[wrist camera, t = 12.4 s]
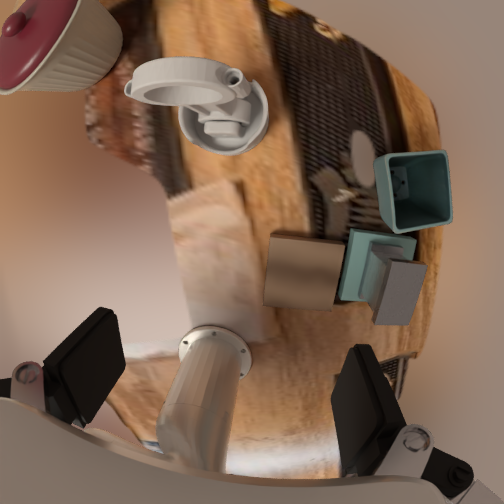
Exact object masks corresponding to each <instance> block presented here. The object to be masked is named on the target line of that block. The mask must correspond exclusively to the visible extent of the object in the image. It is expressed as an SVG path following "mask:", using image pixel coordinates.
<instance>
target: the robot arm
mask: <svg viewBox="0 0 504 504" xmlns="http://www.w3.org/2000/svg"><path fill="white" fill-rule="evenodd" d="M178 354H179V358H180V361H181V365H180V367H179V369H178V372H177V374H176V376H175V378H174V381H173V383H172V385H171V387H170V390H169V392H168V394H167V397H166V399H165V401H164V403H163V406H162V408H161V411H160V413H159V415H158V418H157V421H156V435H157V439H158V442H159V444H160V447H161V449H162V451H163V453H164V454H162V453H158V452H156V451H151V450H149V449H146V448H144V447H141V446H139V445H136V444H134V443H132V442H130V441H127V440H125V439H123V438H121V437H118V436H116V435H114V434H112V433H110V432H107V431H105V430H101V429H97V428H90V429H86V430H84V431H82V430H80V429H77V428H75V427H73V426H71V424H72V423H73V424H75V425H77V426H79V427H81V428H84V427H85V426H86V424H87V423H88V424H89V423H91V421H92V420H93V418H94V417H95V415H96V413H97V411H98V410H99V409H100V407H101V405H102V404H103V402H104V401H105V399H106V398H107V396H108V395H109V393H110V391H111V390H112V388H113V387H114V385H115V384H116V382H117V381H118V379H119V378H120V376H121V375H122V373H123V372H124V370H125V366H126V363H125V358H124V353H123V348H122V343H121V337H120V332H119V327H118V320H117V316H116V314H114V312H113V310H111V309H107V308H104V307H99V308H97V309H96V310H95V311H94V312H93V313H92V314H91V315H90V316H89V317H88V318H87V319H86V320H85V321H83V322H82V323H81V324H80V325H79V326H78V327H77V328H76V329H75V330H74V331H73V332H72V333H71V334H70V335H69V336H68V337H67V338H66V339H65V340H64V341H63V342H62V343H61V344H60V345H59V346H58V347H57V348H56V349H55V350H54V351H53V352H52V353H51V354H50V355H49V356H48V357H47V358H46V359H45V360H44V361H43V363H44V366H43V367H41V366H40V365H39V364H38V363H36V362H23V363H21V364H19V365H18V366H17V367H16V368H15V369H14V371H13V373H12V378H7V379H0V504H504V503H503V501H502V500H501V499H500V498H499V497H498V496H497V495H496V494H495V493H493V492H492V491H491V490H490V489H489V488H488V487H486V486H485V485H484V484H483V483H482V482H481V481H479V480H478V479H477V480H476V481H474V480H473V478H474V474H473V470H472V467H470V465H469V464H468V463H466V462H465V461H462V460H460V459H458V458H455V457H453V456H451V455H449V454H447V453H445V452H443V451H441V450H439V449H437V448H435V447H433V445H434V439H433V435H432V434H431V432H430V431H429V430H428V429H427V428H425V427H423V426H421V425H417V424H411V425H407V424H406V422H405V419H404V417H403V414H402V412H401V410H400V407H399V405H398V402H397V400H396V398H395V395H394V393H393V391H392V388H391V386H390V384H389V381H388V379H387V378H386V377H385V376H384V374H383V371H382V369H381V367H380V365H379V362H378V360H377V358H376V356H375V354H374V352H373V349H372V347H371V346H370V345H369V344H356V345H355V346H354V348H350V349H349V352H348V354H347V357H346V360H345V362H344V365H343V368H342V370H341V373H340V375H339V378H338V380H337V383H336V385H335V387H334V390H333V392H332V395H331V405H332V410H333V416H334V421H335V427H336V432H337V438H338V444H339V450H340V457H341V463H342V467H343V468H346V470H347V474H353V473H358V477H347V478H332V479H273V478H258V477H248V476H239V475H231V474H225V471H226V458H227V450H228V443H229V437H230V431H231V426H232V420H233V414H234V408H235V402H236V396H237V390H238V384H239V380H241V379H242V378H244V377H245V376H246V375H247V374H248V372H249V370H250V367H251V362H252V356H251V352H250V349H249V347H248V346H247V344H246V343H245V342H244V340H243V339H242V338H241V337H239V336H238V335H236V334H235V333H233V332H231V331H229V330H227V329H224V328H220V327H215V326H204V327H198V328H195V329H193V330H191V331H189V332H188V333H187V334H186V335H185V336H184V337H183V338H182V340H181V342H180V344H179V349H178Z"/></svg>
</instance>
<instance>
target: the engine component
mask: <svg viewBox="0 0 504 504" xmlns="http://www.w3.org/2000/svg"><path fill="white" fill-rule="evenodd" d="M124 92H125V95H127V96H129V97H132V98H134V99H136V100H138V101H141V102H145V103H150V104H157V105H168V106H179V112H178V114H179V123H180V126H181V129H182V131H183V133H184V135H185V136H186V138H187V139H188V140H189V141H190V142H192V143H193V144H195V145H198V146H200V147H201V148H203V149H205V150H207V151H210V152H213V153H216V154H221V155H228V156H229V155H239V154H242V153H245V152H247V151H249V150H251V149H252V148H254V147H255V146H256V145H257V144H258V143H259V142H260V141H261V140H262V139H263V137H264V135H265V134H266V131H267V128H268V124H269V112H268V103H267V98H266V95H265V93H264V91H263V89H262V88H261V86H260V85H259V84H258V83H257V82H256V81H255V80H253V79H252V82H249V81H247V80H246V78H245V77H244V75H243V73H242V72H241V71H240V70H239V69H236V68H231V67H230V66H228V65H226V64H224V63H221V62H218V61H215V60H211V59H206V58H200V57H167V58H161V59H156V60H152V61H149V62H147V63H144V64H142V65H141V66H139V67H138V68H137V69H136V70H135V71H134V74H133V79H132V80H131V81H129V82H128V83H127V84H126V86H125V89H124Z"/></svg>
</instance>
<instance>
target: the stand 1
mask: <svg viewBox="0 0 504 504" xmlns="http://www.w3.org/2000/svg"><path fill="white" fill-rule="evenodd" d="M344 249H345V245H344V243H343V242H342V241H335V240H326V239H317V238H308V237H299V236H290V235H280V234H270V243H269V252H268V261H267V270H266V280H265V288H264V297H263V306H270V307H280V308H291V309H303V310H316V311H330V312H331V311H332V307H333V302H334V298H335V294H336V289H337V284H338V280H339V275H340V270H341V265H342V260H343V255H344Z"/></svg>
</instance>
